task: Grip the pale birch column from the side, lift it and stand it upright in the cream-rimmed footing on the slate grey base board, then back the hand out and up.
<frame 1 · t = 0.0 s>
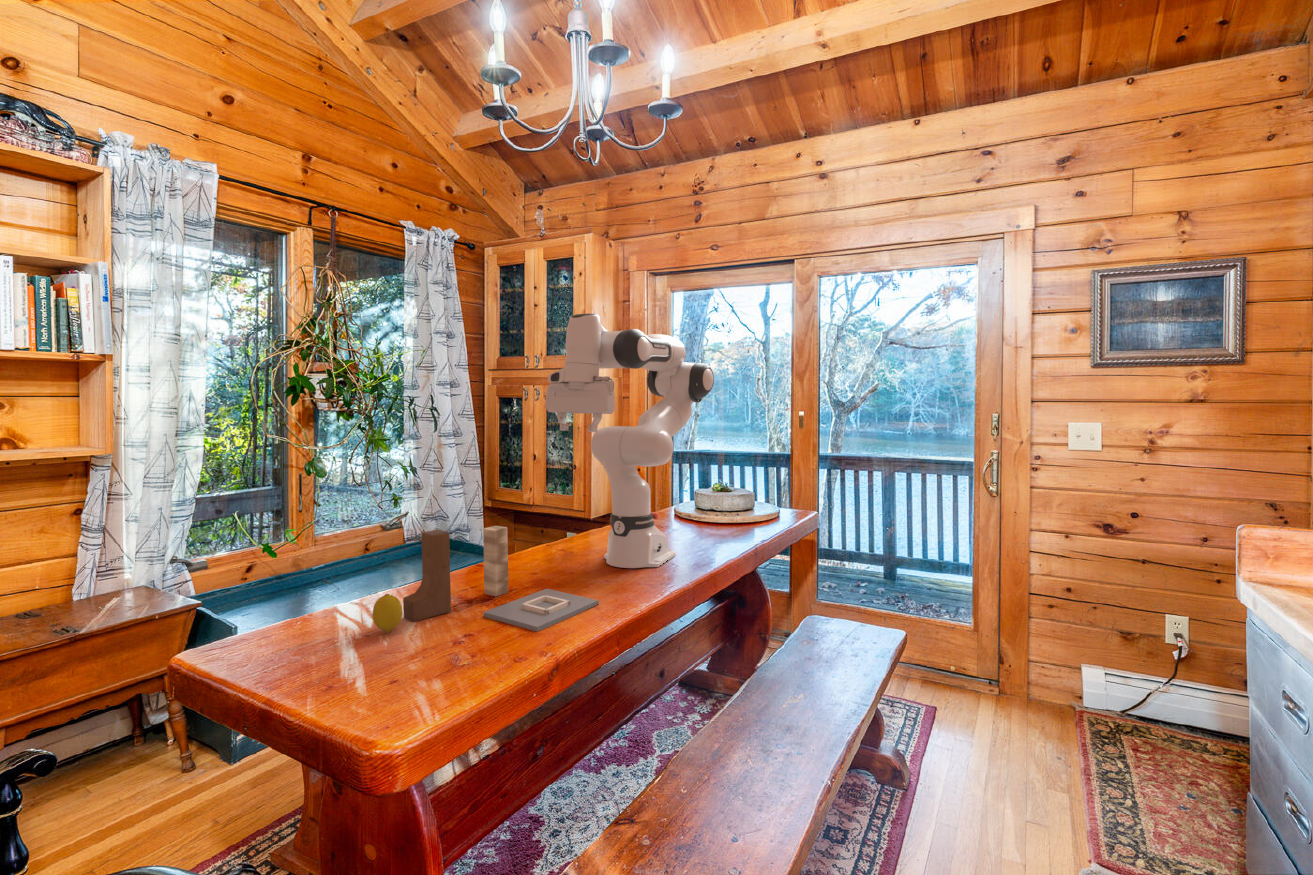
hand: (578, 431, 161), 39 cm above the table, tool pointing down, fingers open, 8 cm apart
base board: (542, 610, 143), on the table
birch column: (496, 592, 155), on the table
brown boot: (427, 615, 140), on the table
lemon: (388, 633, 130), on the table
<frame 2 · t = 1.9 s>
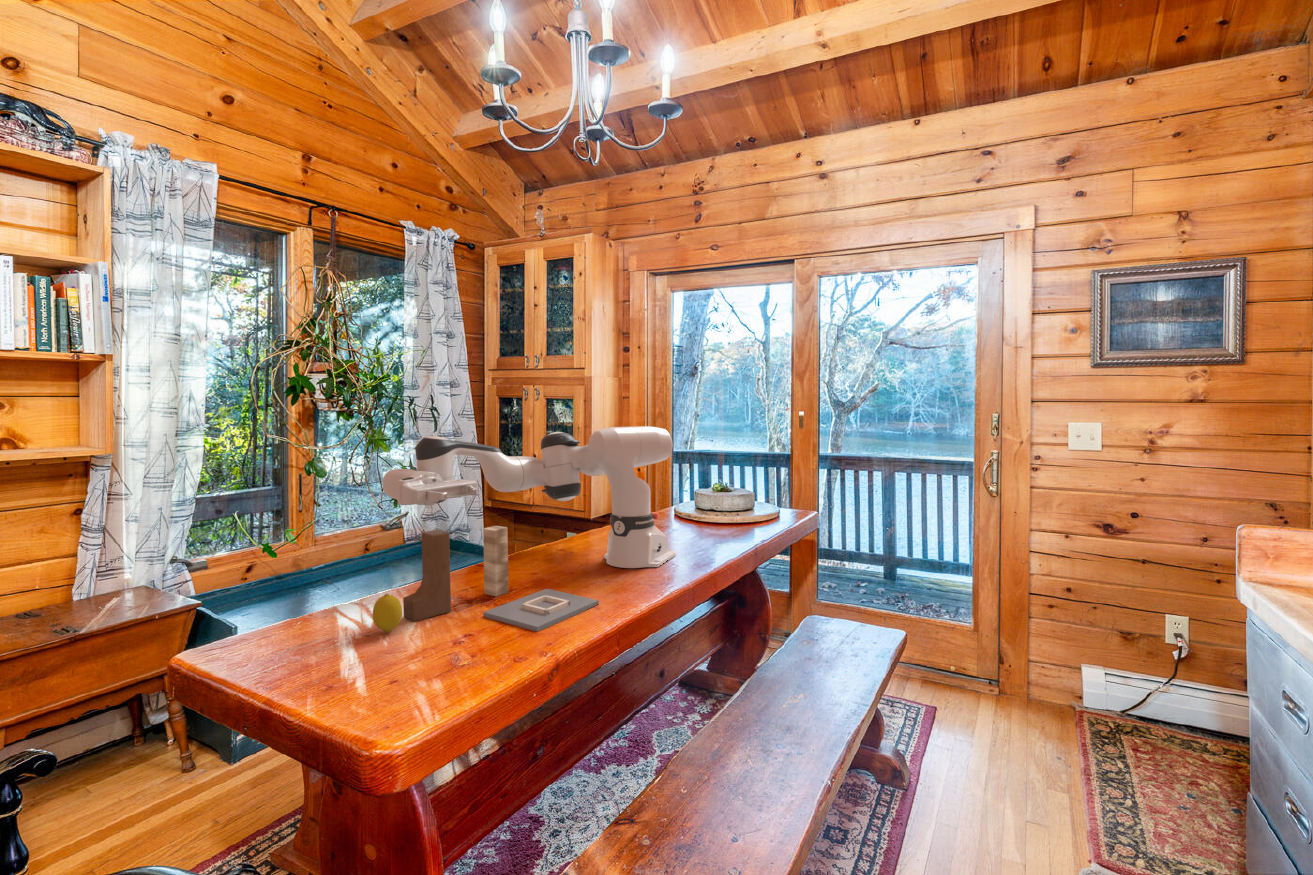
hand: (460, 494, 161), 23 cm above the table, tool horizontal, fingers open, 8 cm apart
nothing on the table moved.
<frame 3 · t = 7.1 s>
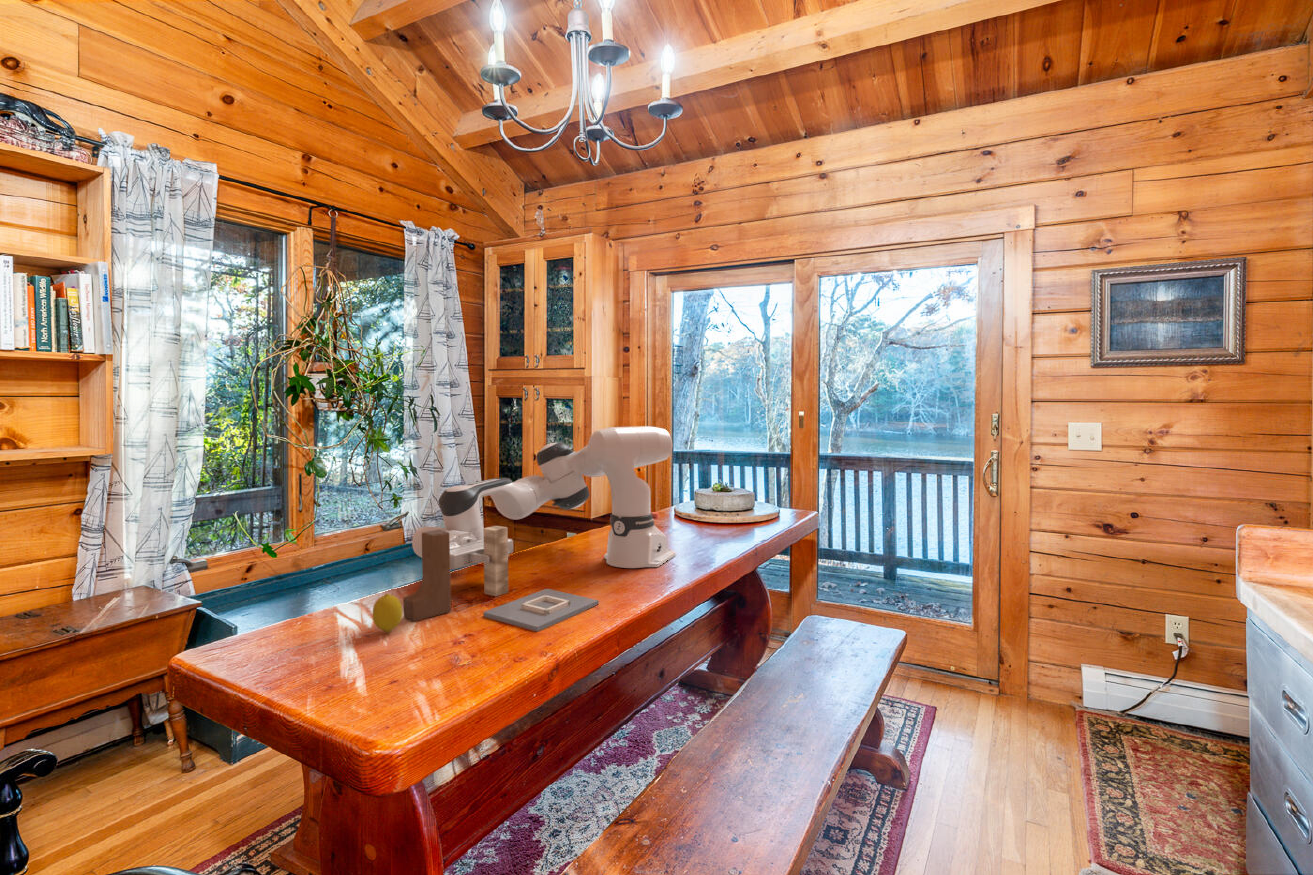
hand: (498, 556, 154), 9 cm above the table, tool horizontal, fingers closed on birch column, 4 cm apart
birch column: (496, 592, 155), on the table, touching gripper
everything else where it was.
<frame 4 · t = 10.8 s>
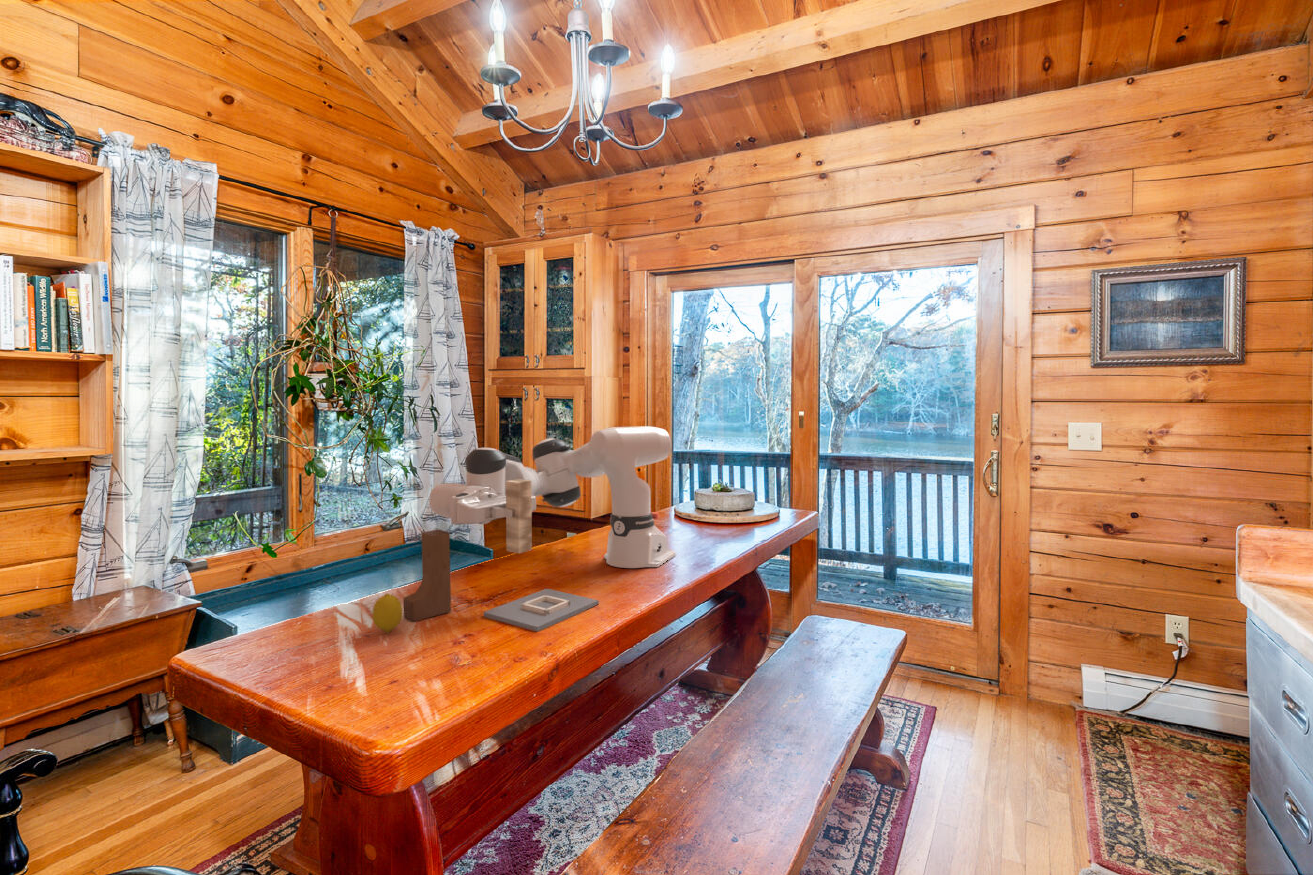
hand: (521, 511, 145), 22 cm above the table, tool horizontal, fingers closed on birch column, 4 cm apart
birch column: (519, 550, 146), point 13 cm above the table, touching gripper
everything else where it was.
when the fingers open (11 cm above the table, at t = 14.5 s): birch column stays where it is, resting on base board.
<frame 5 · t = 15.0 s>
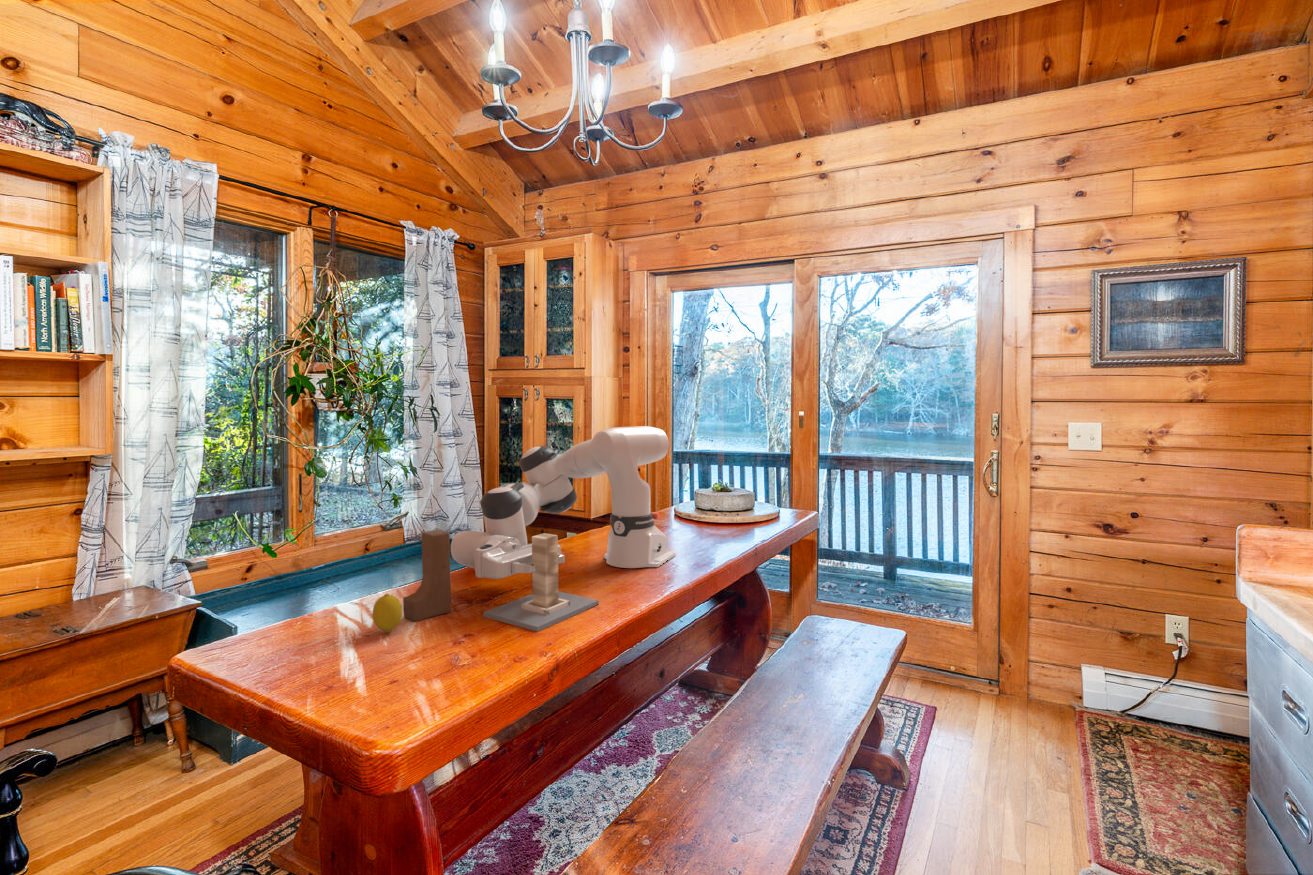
hand: (548, 564, 141), 11 cm above the table, tool horizontal, fingers open, 8 cm apart
birch column: (545, 606, 142), point 1 cm above the table, touching base board
everything else where it was.
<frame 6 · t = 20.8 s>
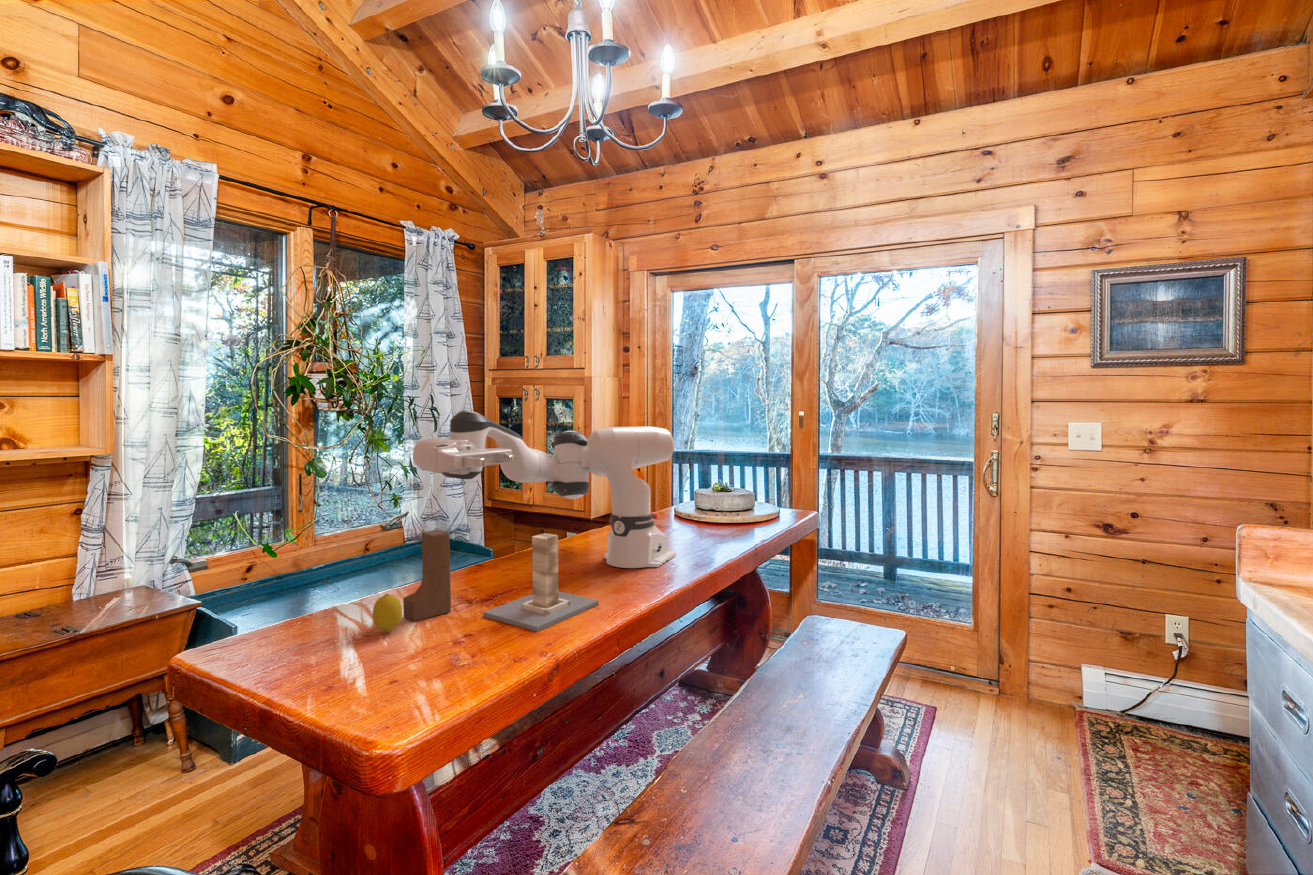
hand: (497, 460, 156), 32 cm above the table, tool horizontal, fingers open, 8 cm apart
nothing on the table moved.
at the end: birch column 0.0 cm from the target spot on the base board, point 1.0 cm above the base board's base; birch column tilted 0°; the gripper is holding nothing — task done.
